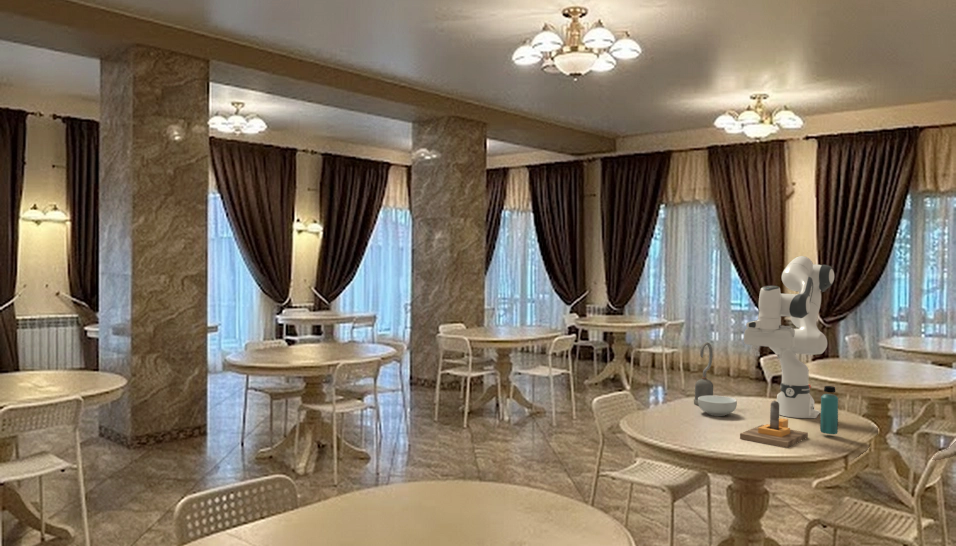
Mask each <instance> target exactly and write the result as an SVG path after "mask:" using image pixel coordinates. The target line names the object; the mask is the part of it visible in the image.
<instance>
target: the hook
mask: <svg viewBox="0 0 956 546" xmlns="http://www.w3.org/2000/svg"><path fill="white" fill-rule="evenodd" d="M706 347H708V351H709V352H708V354H709V357H708V363H707V366H706V367H705V368H704V369H703V371H702V378H700V379H698V380H696V382H695V385H694V399H693V404H694V405H695V406H699V405H698V397H700V396H714V384H713V382H712V381H711V380H709V379H707V372H708V370H710V368H711V367H712V365H713V364H712V363H713V356H714V354H713V353H714V352H713V348H712V347H713V346H712V344H711V343H710V342H709V341H706V342H703V344H702V345H701V347H700V353H699V354H700V357H701V358H704V352H705V348H706Z"/></svg>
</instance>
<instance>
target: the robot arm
mask: <svg viewBox="0 0 956 546" xmlns="http://www.w3.org/2000/svg"><path fill="white" fill-rule="evenodd" d="M834 280H835V272H834V269H833V267H832V266H831V265H827V264H816V263H813V261H812V259H810V258H809V257H807V256H803V255H800V256H797V257H794V258H793V259H792V260H790V262H789V263H788V264H787V265H786V266H785V268H784V269H783V271H782V272H781V281H782V283H783V285H784V287H786V288H787V289H788V290H789V291H793V292H796V293H781V288H780V286H778V285H764V286H762V287H761V288H760V289H759V290H760V291H759V296H758V297H759V298H758V310H759V311H758V316H757V318H758V319H757V320H753V321H749V322H747V323H746V329H745V330H744V333H743V343H744V345H747V346H752V347H751V348H752V350H753V352H754V356H755V357H760V356H761V354H760V351H759V350H758V349H757V348H758V347H766V348H767V347H768V348H769V349H770V350H771V351H773V353H774V354H775V355H776V356H777V359H778V361H779V363H780V366H781V367H780V368H781V382H780V386H779V387H780V388H779V389H780V392H778V393H777V396H776V401H777V402H778V403H779V416H783V417H786V418H795V419H796V418H798V419H817V417H818V416H819V415H820V414H821V410H818V409H815V400H814V398H813V396H812V395H811V393H810V392H811V391H810V389H811V388H812V386H811V384H809V376H810V375H809V373H810V372H809V370H810V369H809V367H808V365H806V363H804V362H802V361H801V360H799V359H798V357H797V355H796V354H798V355H799V354H800V355H807V356H809V355H810V356H811V355H812V356H813V355H815V356H816V355H822V354H823V353H824V352H825V351H826V349H827V347H828V339H827V336H826V335H825V334H824V333H823V332H822V331H820V329H819V327H818V326H817V320H818V316H819V313H820V309H821V303H822V293H823V292H826V291H827V290H828V289H829V288H831V286H832V285H833V283H834ZM797 292H798V293H797ZM782 317H788V318H790V321H791V323H792V325H794V326H795V327H796V328H793V327H792V326H791V325H782Z"/></svg>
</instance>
